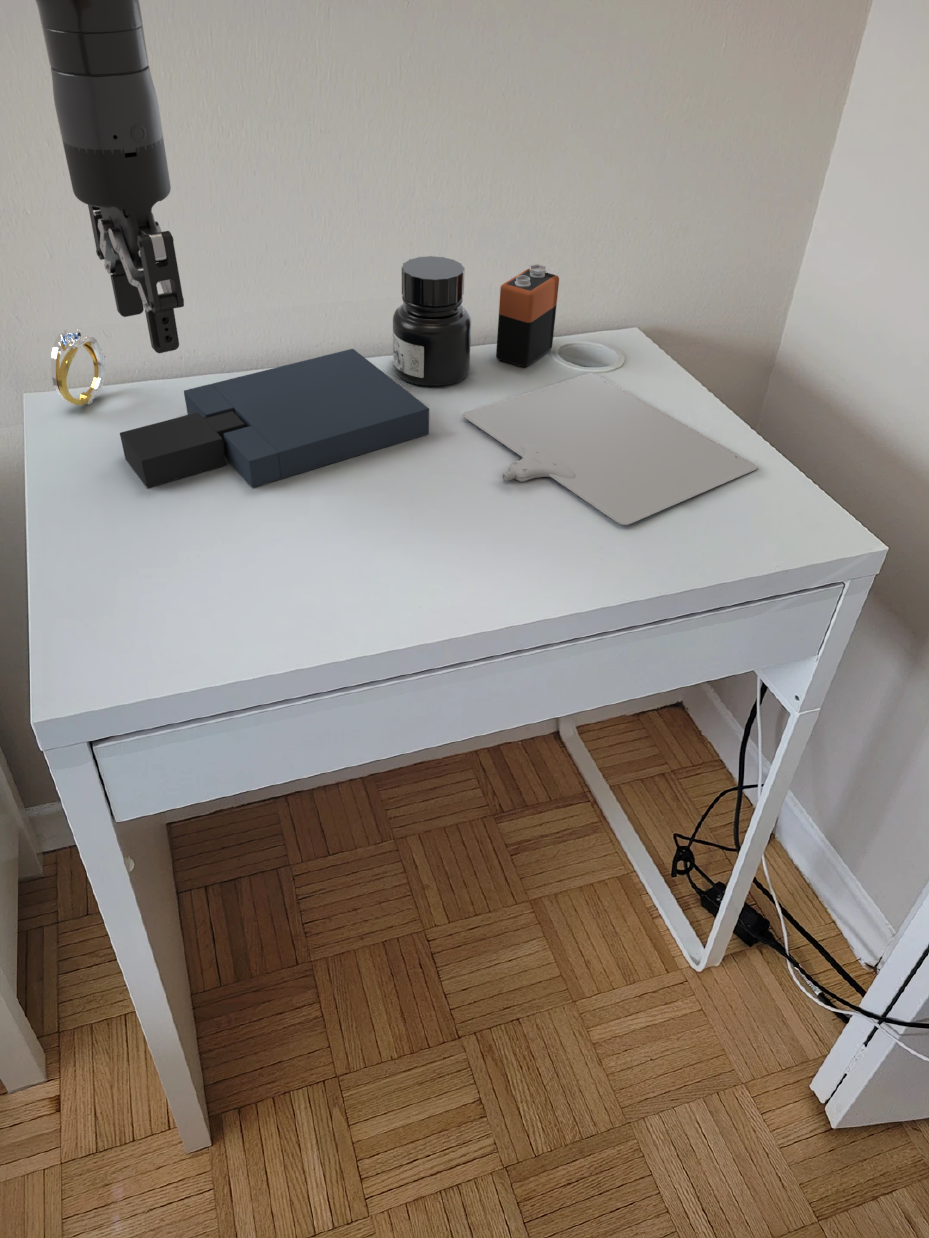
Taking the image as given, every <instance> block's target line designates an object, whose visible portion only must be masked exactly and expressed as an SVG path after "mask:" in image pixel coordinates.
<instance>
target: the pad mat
mask: <svg viewBox="0 0 929 1238" xmlns="http://www.w3.org/2000/svg"><path fill="white" fill-rule="evenodd" d="M183 396H184V402H185V407H186V413H187V415H189V414H193V413H197V412H198V413H199V414H200V415H201V416H202V417H203V418H204V419H205V418H209V417H213V416H216V415H220V414H224V413H228V412H231V411H233V412H234V413H235V415H236V416H237V417H238V418H239V419H240V420H241V421H242V422H243V423H244V424H245V428H242V429H238V430H234V431H231V432H227V433H224V441H225V448H226V455H227V456H226V460H227V461H228V463H230V465H231V466H232V467H233V468H234V469H235V471H236V472H237V473H238V474H239V475H240V476H241V477H242V479H244V480H245V481H246V483H247V484H248V485H249V486H250V487H251V488H252V489H254V488H257V487H260V486H265V485H267V484H270V483H273V482H277V481H279V480H283V479H286V478H290V477H292V476H295V475H299V474H303V473H305V472H309V471H313V470H315V469H319V468H322V467H325V466H329V465H331V464H336V463H338V462H341V461H345V460H348V459H351V458H354V457H358V456H361V455H364V454H367V453H372V452H374V451H377V450H381V449H383V448H388V447H391V446H393V445H396V444H400V443H403V442H406V441H409V440H413V439H416V438H419V437H423V436H426V435H429V433H430V407H428V406H427V405H426V404H424V403H423V402H422V401H420V399H418V398H417V397H415V396H414V395H413V394H411V392H409V391H408V390H407V389H405V388H404V387H403V386H401V385H400V384H399V383H398V382H397V381H395V380H394V379H392V378H391V377H390V376H389V375H388V374H386V373H385V372H384V371H382V370H381V369H380V368H378V367H377V366H376V365H374V363H372V362H371V361H370V360H368V359H367V358H366V357H365V356H364V355H362V354H361V353H359V351H357V350H355V349H354V348H350V349H346V350H345V349H344V350H342V351H338V352H337V351H336V352H334V353H329V354H326V355H322V356H318V357H312V358H308V359H305V360H301V361H298V362H293V363H289V364H285V365H281V366H277V367H274V368H273V367H272V368H269V369H265V370H261V371H257V372H253V373H249V374H244V375H241V376H237V377H232V378H229V379H225V380H221V381H216V382H213V383H209V384H205V385H201V386H197V387H192V388H189V389H184V390H183Z"/></svg>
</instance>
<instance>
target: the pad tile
mask: <svg viewBox="0 0 929 1238" xmlns="http://www.w3.org/2000/svg"><path fill="white" fill-rule="evenodd" d="M242 428H245V424H244V423H243V422H242V421H241V420H240V419H239V418H238V417H237V416H236V415H235V413H234V412H233V411H231V412H228V413H224V414H220V415H216V416H213V417H209V418H205V419H204V418H203V417H202V416H201V415H200V414H199V413H198V412H197V413H193V414H189V415H188V414H185V415H183V416H178V417H174V418H171V419H167V420H163V421H159V422H155V423H152V424H147V425H144V426H140V427H136V428H133V429H128V430H124V431H121V432H119V436H120V441H121V445H122V449H123V454H124V460H125V461H126V462H127V464H128V465H129V466H130V468H131V469H132V470H133V471H134V473H136V475H137V477H138V478H139V479H140V481H141V482H142V483H143V484H144V486H145V487H146V488H147V489H149V488H153V487H156V486H159V485H164V484H167V483H170V482H173V481H176V480H180V479H183V478H186V477H191V476H194V475H197V474H200V473H204V472H208V471H211V470H214V469H217V468H221V467H224V466H227V461H226V460H227V459H226V458H227V455H226V448H225V441H224V433H227V432H231V431H234V430H238V429H242Z"/></svg>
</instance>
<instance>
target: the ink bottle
mask: <svg viewBox="0 0 929 1238" xmlns="http://www.w3.org/2000/svg"><path fill="white" fill-rule="evenodd" d="M465 269H466V268H465V267H464V266H463V264H462V263H461V262H459V261H457V260H455V259H453V258H449V257H445V256H434V255H429V256H427V255H426V256H417V257H413V258H410V259H407V260H406V261H405V262H403V263H402V266H401V299H402V302H403V303H402V304H400V305H399V306H398V307H397V308H396V309H395V311H394V313H393V316H392V364H393V365H392V367H393V370H394V372H395V374H396V375H397V376H398V377H399V378H401V380H404V381H405V382H407V383H410V384H414V385H418V386H430V387H431V386H432V387H433V386H435V387H436V386H437V387H438V386H447V385H451V384H454V383H455V384H456V383H458V382H460V381H462V380H463V379H464V378H466V377H467V376H468V374H469V372H470V366H471V365H470V364H471V345H472V343H471V342H472V322H473V321H472V317H471V314H470V312H469V311H468V309H467V308H465V307H464V306H463V305H462V304H463V301H464V295H465V294H464V293H465V292H464V291H465Z"/></svg>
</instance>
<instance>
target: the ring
mask: <svg viewBox="0 0 929 1238" xmlns="http://www.w3.org/2000/svg"><path fill="white" fill-rule="evenodd" d="M75 330H76V331H75V332H72V333H70V332H69V330H68V329H63V332H61V333H60V334H58V335H57V336H56V338H54V339H55V340H54V342H53V346H52V350H51V357H50V358H51V359H50V371H51V379H52V383H53V386H54V389H55V390H56V393H57V394H58V396H59V397H60V398H61V399H62V400H63V401H65V402H67V403H69V404H72V405H74V406H83V405H91V404H92V403H93V402H94V399H95V398H96V397H97V396H98V394H99V393H100V391H101V390H102V387H103V385H104V381H105V376H106V359H105V353H104V352H103V349H102V347H101V345H100V343H99V341H98V340H97V339H96V338H95V337H93V336H91V335H90V336H89V335H83V336H82V332H81V328H80V327H76V328H75ZM81 347H83V348H84V349H85V350H86V351H87V352H88V354H89V356H90V358H91V360H92V363H93V370H94V374H93V380H92V382H91V385H90V387H89V389H88V390H87V391H86V392H85V391H84V392H81V393H80V394H79V397H74V396H72V394H71V393H70V391H69V389H68V380H67V379H68V373H69V370H70V367H71V364H72V363H73V360H74V358H75V356H76V354H77V353H78V350H79V349H80V348H81ZM67 349H69V350H68V351H67ZM65 351H67V352H66V354H65V355H64V357H63V358H62V361H61V357H62V356H61V355H62V352H65Z"/></svg>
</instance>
